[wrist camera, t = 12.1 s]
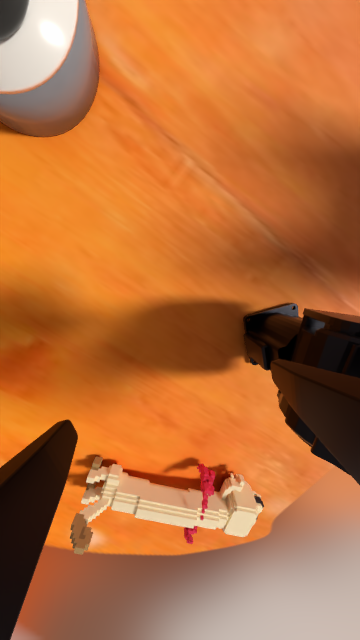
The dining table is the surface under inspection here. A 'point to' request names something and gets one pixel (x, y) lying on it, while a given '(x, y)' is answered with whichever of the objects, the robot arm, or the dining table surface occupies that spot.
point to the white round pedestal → (49, 69)
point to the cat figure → (167, 503)
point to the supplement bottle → (11, 16)
